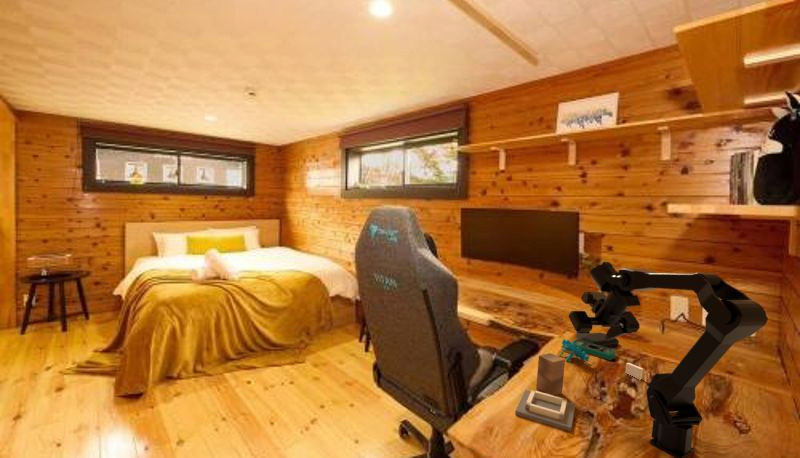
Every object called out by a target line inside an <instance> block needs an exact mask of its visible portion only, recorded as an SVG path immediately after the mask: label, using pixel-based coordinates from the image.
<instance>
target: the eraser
mask: <svg viewBox="0 0 800 458" xmlns="http://www.w3.org/2000/svg"><path fill="white" fill-rule="evenodd" d="M624 373H627V374H629V375H628V376H630V375H631V376H630V377H632V376H633V377H632V378H634V377H635V378H634V379H636V378H637V379H636V380H638V379H639V381H642V380H643V374H644V368H642V367H640V366H637V365H635V364H634V363H631V362H626V364H625V372H624ZM627 374H626V375H627ZM641 379H642V380H641Z"/></svg>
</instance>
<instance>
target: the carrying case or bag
mask: <svg viewBox="0 0 800 458" xmlns="http://www.w3.org/2000/svg"><path fill="white" fill-rule="evenodd" d="M605 336H606V333H604V332H594V333H593V332H590V333H589V334H588V335H586V336H585V337H584V338H582V339H580V340H582V341H585V342H588V343H592V344H596V345H599V346H603V347H607V348H608V347H612V346H617V345H618V344H619V343H620V341H619V340H618V337H616V338H613V339H610V340H606V339H605Z"/></svg>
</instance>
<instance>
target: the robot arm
mask: <svg viewBox="0 0 800 458" xmlns="http://www.w3.org/2000/svg"><path fill="white" fill-rule="evenodd" d="M589 276H590V277H591V279H592V280H593V281H594V283H595V284H596V285H597V287H598V288H599V289H600V291H601V292H600V291H584V293H583V294H581V302H583V304H585V305H589V306H590V307H591V309H590V311H591V312H592V313H593V314H594V316H591V317H590V316H589V315H588V314H587V312H586V310H571V311H570V313H569V314H568V318H569V320H570V323H571V324H572V326H573V328H574V330H575V332H576V334H575V337H576V339H577V340H580V339H582V338H584V337H585V336H586V335H588V334H590V333H591V331H592V330H593V327H602V328H609V329H608V330H607V331H606V333H605V334H606V336H605V339H606V340H610V339H613V338H618V337H622V336H625V335H629V334H630V335H631V334H632V333H637V332H638V331H639V329H640V328H641V326H640V323H639V321H638V319H637V318H636V317H635V315H634V314H633V313H632V311H630V310H628V308H629V307H640V306H641V302H640V300H639V296H638V295H636V294H635V293H634V292H646V291H647V292H649V291H654V290H659V289H664V290H665V289H666V290H679V291H680V290H681V291H682V290H683V291H693V292H694V293H695V294H696V296H697V300H698V301H699V305H700V306H701V308H703V309H704V311H705V312H706V313H707V314H706V316H705V320H704V321H705V330H704V331H703V333H702V334H701V336H700V337H699V338H698V339H697V340H696V342H695V343H694V345H692V346H691V348H690V349H689V351H688V352H687V353H686V354H685V355H684V357H683V358H682V359H681V360H680V362H678V364H677V365H676V367H675V368H674V369H673V370H672V372H666V373H662V372H661V373H656V374H654V376H653V377H652V379H651V381H650V382H648V383H646V386H647V388H646V392H645V394H646V398H647V404H648V405H647V406H648V410H649V416H650V418H652V419H654V420H652V426H651V437H652V438H651V439H649V444H651V445H653V446H655V447H657V448H659V449H660V450H662V451H664V452H666V453H668V454H670V455H672V456H674V457H676V458H686V457H688V456H689V455H691V454H692V453H693V452H695V448H694V447H693V446H692V443H693V433H694V426H700V424H701V423H702V421H703V417H702V415H701V413H700V411H699V410H698V408H697V406H696V405H695V403H694V402H695V399H696V387H697V386H698V385H699V384H700V383H701V382H702V380H703V379H704V378H706V376H707V375H708V373H709V372H710V371H711V370H712V369H713V368H714V366H716V364H718V362H719V361H720V360H721V359H722V357H723V356H724V355H725V354H726V353H727V352H728V350H729V349H731V348H732V346H733V345H734V344H736V343H739V342H740V341H743V340H744V339H746V338H749V337H751V336H753V335H754V334H756V333H757V332H758V331H759V330H761V329H762V328H763V327H765V326H766V324H767V323H768V320H769V318H768V316H767V313H766V310H765V309H764V307H763V306H762V305H761V304H760V303H759V302H757V301H755V300H752V299H751V298H750V297H749V296H748V295H747V294H745V293H744V292H743V291H741V290H739V289H738V288H736V287H734V286H733V285H731V284H729V283H728V282H726V281H725V280H724V279H723V278H722V277H720V275H718V274H716V273H712V272H695V273H664V272H663V273H660V272H657V271H654V270H649V269H645V268H620V269H618V271H617V270H616V269H615V268H614V267H613V265H612V263H611V262H610V261H603V262H602V263H601V264H599V265H596V266H595V267H593V268H592V269H590V271H589ZM604 292H605V293H606V292H607V295H606V294H604Z"/></svg>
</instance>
